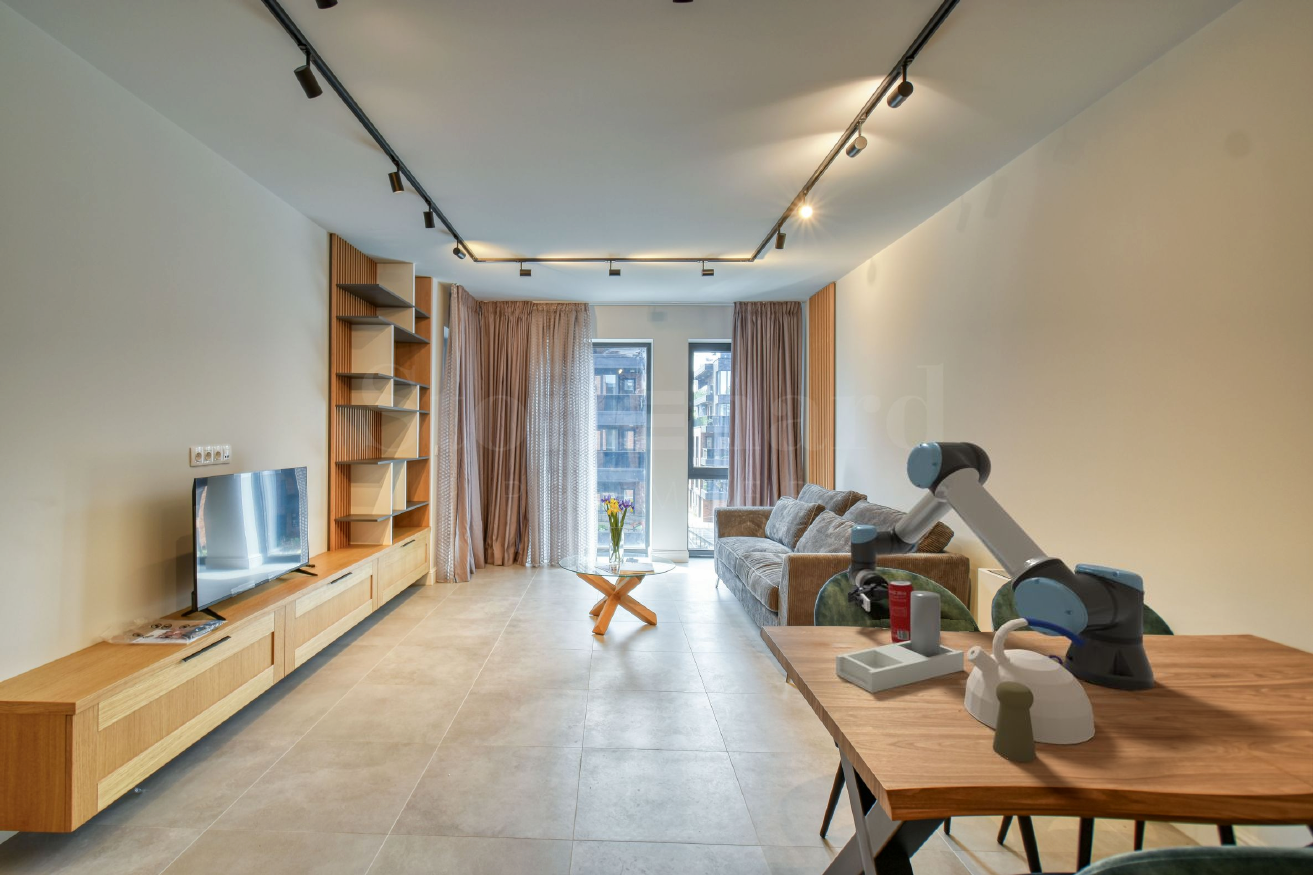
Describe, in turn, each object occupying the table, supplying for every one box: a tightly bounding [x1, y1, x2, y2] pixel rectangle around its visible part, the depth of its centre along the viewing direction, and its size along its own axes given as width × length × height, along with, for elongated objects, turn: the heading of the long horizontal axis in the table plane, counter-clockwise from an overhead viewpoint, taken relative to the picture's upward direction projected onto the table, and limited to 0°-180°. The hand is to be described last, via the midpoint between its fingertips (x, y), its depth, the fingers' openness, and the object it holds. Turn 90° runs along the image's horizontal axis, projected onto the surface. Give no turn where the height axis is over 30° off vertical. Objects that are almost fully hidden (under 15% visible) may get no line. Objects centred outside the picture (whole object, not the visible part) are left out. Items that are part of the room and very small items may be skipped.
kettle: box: [963, 617, 1096, 746], centre depth 108 cm, size 20×21×18 cm
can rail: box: [835, 590, 965, 694], centre depth 127 cm, size 27×10×16 cm, turn 115°
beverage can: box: [888, 579, 914, 644], centre depth 145 cm, size 6×6×15 cm
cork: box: [992, 681, 1037, 764], centre depth 95 cm, size 6×6×11 cm
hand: (896, 606), depth 149 cm, fingers open, 13 cm apart
